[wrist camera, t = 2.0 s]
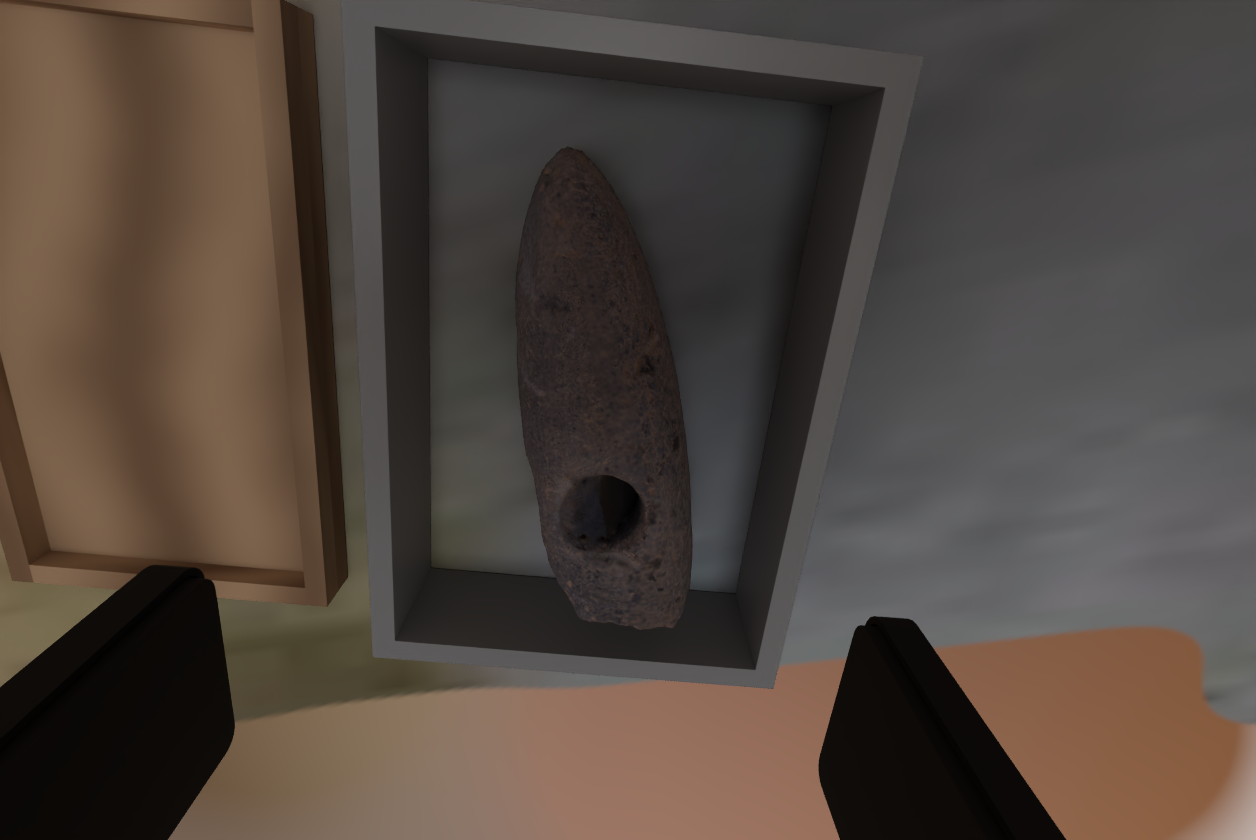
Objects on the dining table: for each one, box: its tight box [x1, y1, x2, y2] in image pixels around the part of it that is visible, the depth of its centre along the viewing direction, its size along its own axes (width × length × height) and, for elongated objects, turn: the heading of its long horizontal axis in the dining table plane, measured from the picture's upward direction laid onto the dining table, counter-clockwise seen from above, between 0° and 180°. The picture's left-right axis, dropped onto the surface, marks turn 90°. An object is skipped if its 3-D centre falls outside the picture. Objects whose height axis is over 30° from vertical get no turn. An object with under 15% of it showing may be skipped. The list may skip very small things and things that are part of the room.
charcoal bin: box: [341, 0, 924, 689], centre depth 22 cm, size 15×21×4 cm
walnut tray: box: [0, 0, 348, 607], centre depth 22 cm, size 12×21×2 cm, turn 174°
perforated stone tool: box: [515, 147, 692, 630], centre depth 20 cm, size 15×5×7 cm, turn 6°
